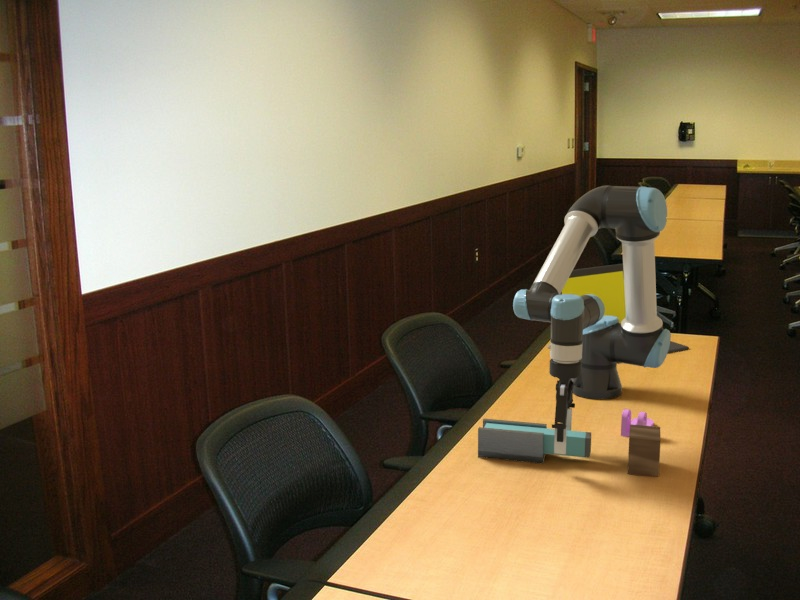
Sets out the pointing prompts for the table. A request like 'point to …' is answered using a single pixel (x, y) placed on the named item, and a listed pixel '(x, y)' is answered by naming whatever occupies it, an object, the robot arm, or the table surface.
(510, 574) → the table surface
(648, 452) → the socket block
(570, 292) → the laptop
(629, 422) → the bracket
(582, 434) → the bar
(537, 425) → the sleeve
